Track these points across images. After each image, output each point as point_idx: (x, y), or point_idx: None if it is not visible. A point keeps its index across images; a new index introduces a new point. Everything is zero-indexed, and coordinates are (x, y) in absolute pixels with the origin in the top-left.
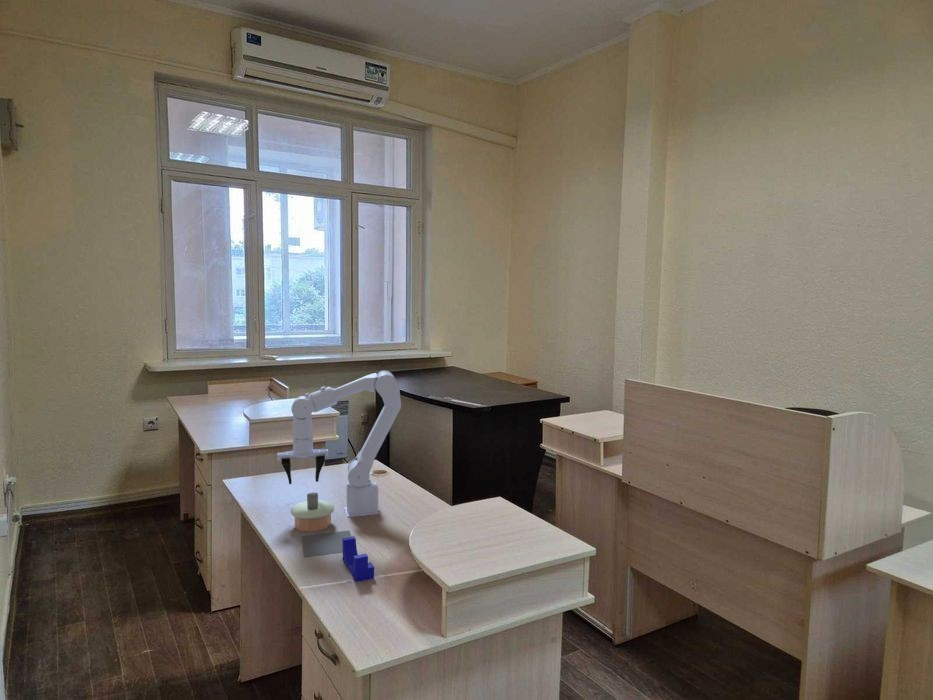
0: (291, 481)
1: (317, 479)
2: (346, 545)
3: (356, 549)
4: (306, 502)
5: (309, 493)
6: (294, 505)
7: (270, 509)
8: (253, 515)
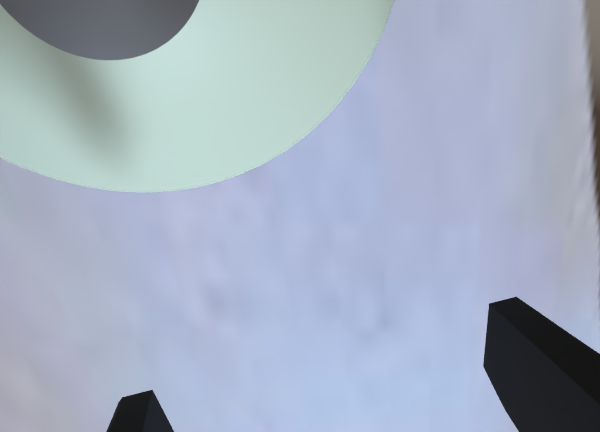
0: (513, 324)
1: (122, 422)
2: None
3: None
4: (247, 133)
5: (172, 12)
6: (371, 51)
7: (486, 256)
8: (590, 174)
